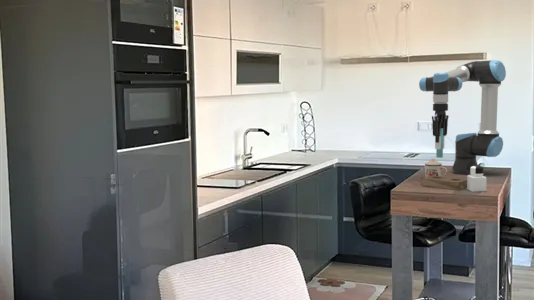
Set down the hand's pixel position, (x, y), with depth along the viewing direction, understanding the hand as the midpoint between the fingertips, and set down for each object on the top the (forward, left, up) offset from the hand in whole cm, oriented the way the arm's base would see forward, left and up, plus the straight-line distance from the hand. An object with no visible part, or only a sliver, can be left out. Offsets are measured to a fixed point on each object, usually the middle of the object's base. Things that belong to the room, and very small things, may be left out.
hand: (439, 148), depth 322 cm
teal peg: (0, 0, -5) cm, 5 cm away
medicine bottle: (+3, +22, -19) cm, 29 cm away
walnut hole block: (+2, +5, -19) cm, 20 cm away
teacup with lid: (-14, -10, -19) cm, 26 cm away
